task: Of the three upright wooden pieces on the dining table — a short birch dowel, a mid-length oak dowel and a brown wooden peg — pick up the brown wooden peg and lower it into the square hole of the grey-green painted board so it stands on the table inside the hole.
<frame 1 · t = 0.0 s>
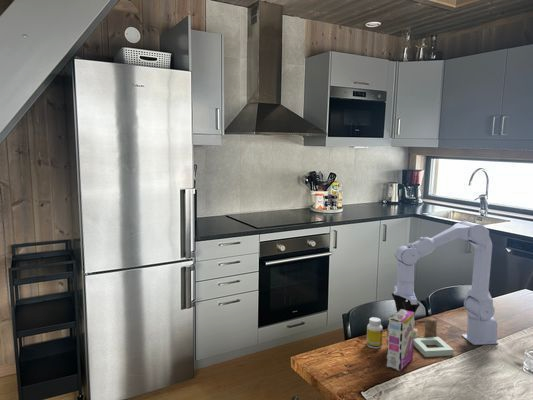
hand: (404, 317, 145), 10 cm above the table, tool pointing down, fingers open, 7 cm apart
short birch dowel: (411, 340, 149), on the table
supplement bottle: (374, 346, 145), on the table
brown wooden peg: (430, 337, 151), on the table
mid oak dowel: (408, 335, 154), on the table
candy bar box: (400, 363, 133), on the table
hole board: (432, 349, 142), on the table
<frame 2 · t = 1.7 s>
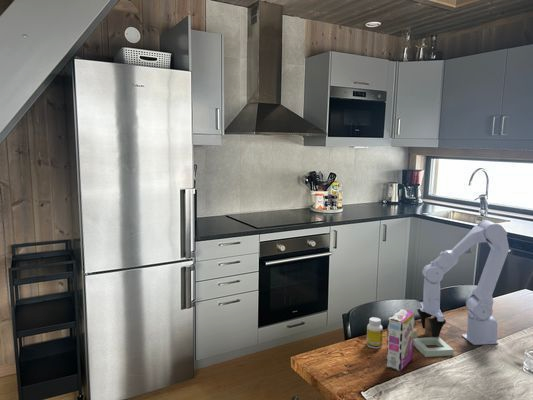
hand: (430, 332, 151), 2 cm above the table, tool pointing down, fingers open, 7 cm apart
nothing on the table moved.
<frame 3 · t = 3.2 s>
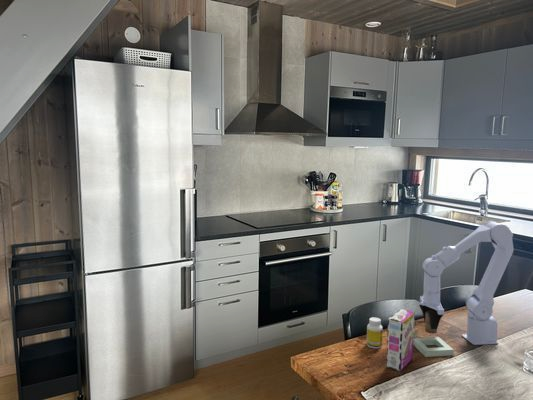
hand: (431, 326, 151), 4 cm above the table, tool pointing down, fingers closed on brown wooden peg, 4 cm apart
brown wooden peg: (430, 331, 151), point 2 cm above the table, touching gripper
everything else where it was.
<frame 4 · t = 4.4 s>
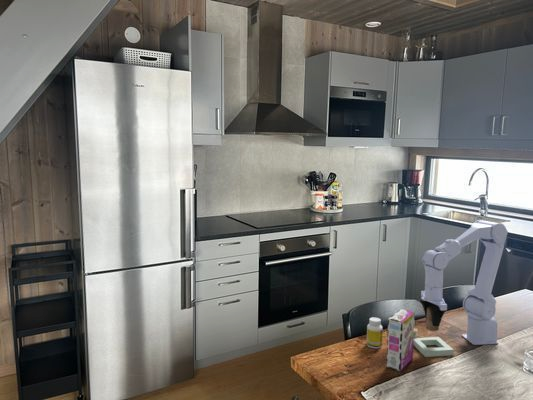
hand: (432, 323, 141), 9 cm above the table, tool pointing down, fingers closed on brown wooden peg, 4 cm apart
brown wooden peg: (432, 328, 142), point 7 cm above the table, touching gripper
everything else where it was.
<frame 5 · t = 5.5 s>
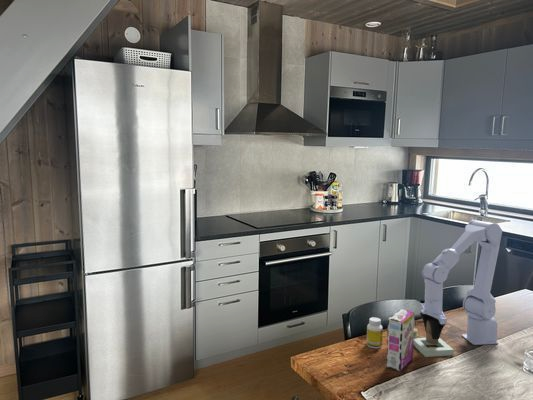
hand: (432, 336, 142), 5 cm above the table, tool pointing down, fingers closed on brown wooden peg, 4 cm apart
brown wooden peg: (432, 341, 142), point 3 cm above the table, touching gripper
everything else where it was.
when the fingers open (3 cm above the table, at t = 6.3 s): brown wooden peg drops 1 cm, resting in hole board.
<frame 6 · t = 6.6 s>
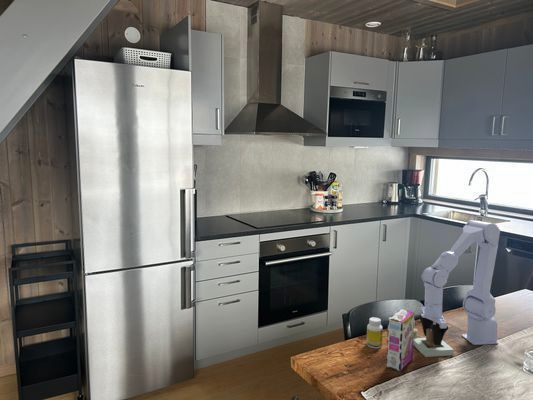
hand: (432, 339, 142), 3 cm above the table, tool pointing down, fingers open, 6 cm apart
brown wooden peg: (431, 349, 142), resting in hole board
everything else where it was.
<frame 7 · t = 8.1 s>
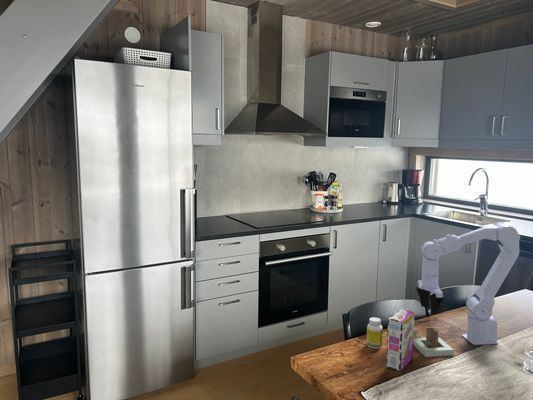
hand: (429, 310, 151), 10 cm above the table, tool pointing down, fingers open, 7 cm apart
nothing on the table moved.
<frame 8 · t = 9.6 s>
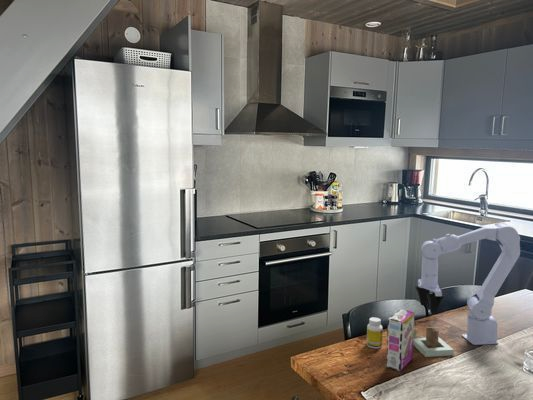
hand: (428, 308, 152), 10 cm above the table, tool pointing down, fingers open, 7 cm apart
nothing on the table moved.
at the end: brown wooden peg 0.1 cm off-centre on the hole board, point 0.0 cm above the hole board's base; brown wooden peg tilted 0°; the gripper is holding nothing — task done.
